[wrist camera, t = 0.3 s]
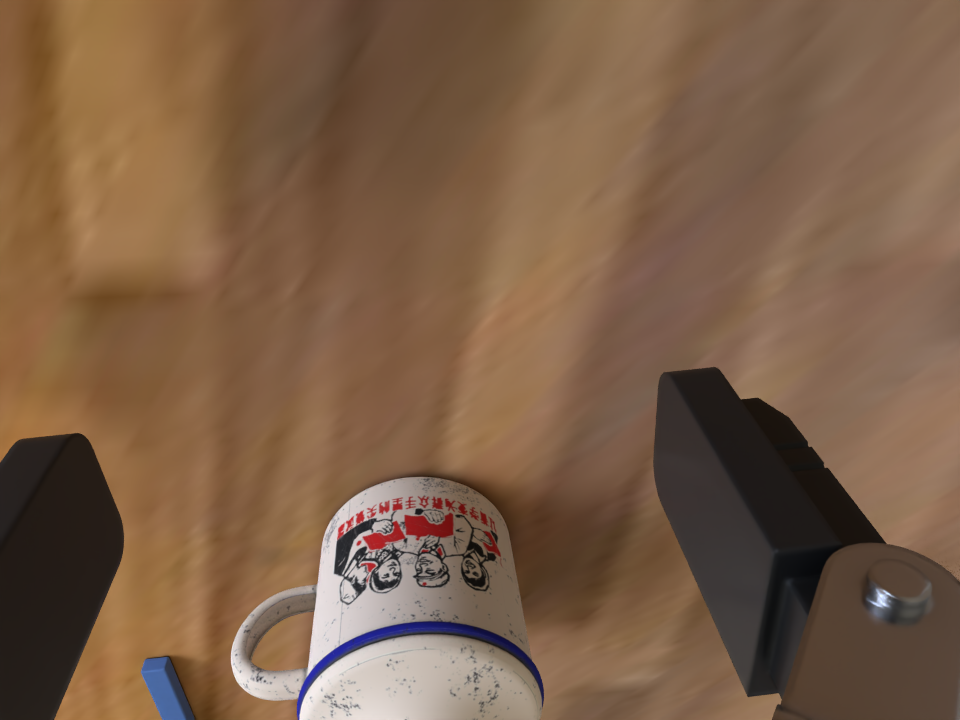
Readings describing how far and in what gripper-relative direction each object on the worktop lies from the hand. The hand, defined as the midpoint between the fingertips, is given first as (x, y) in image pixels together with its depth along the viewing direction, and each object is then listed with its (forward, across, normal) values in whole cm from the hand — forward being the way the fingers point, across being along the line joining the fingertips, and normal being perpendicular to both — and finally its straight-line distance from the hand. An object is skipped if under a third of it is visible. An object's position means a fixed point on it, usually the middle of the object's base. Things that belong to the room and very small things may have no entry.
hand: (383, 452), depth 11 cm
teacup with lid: (+18, +3, +19) cm, 26 cm away
